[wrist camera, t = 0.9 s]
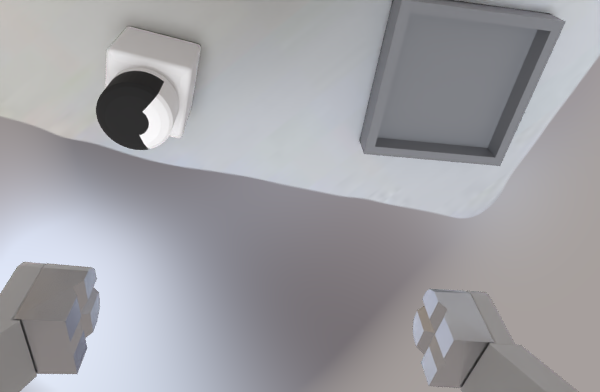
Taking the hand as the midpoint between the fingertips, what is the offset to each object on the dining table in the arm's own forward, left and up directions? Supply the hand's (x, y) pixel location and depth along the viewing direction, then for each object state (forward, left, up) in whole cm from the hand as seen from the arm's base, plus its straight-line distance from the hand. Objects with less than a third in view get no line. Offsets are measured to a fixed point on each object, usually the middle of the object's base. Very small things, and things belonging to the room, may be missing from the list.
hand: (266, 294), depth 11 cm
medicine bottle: (+9, -10, -38) cm, 40 cm away
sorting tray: (+7, +20, -38) cm, 44 cm away
